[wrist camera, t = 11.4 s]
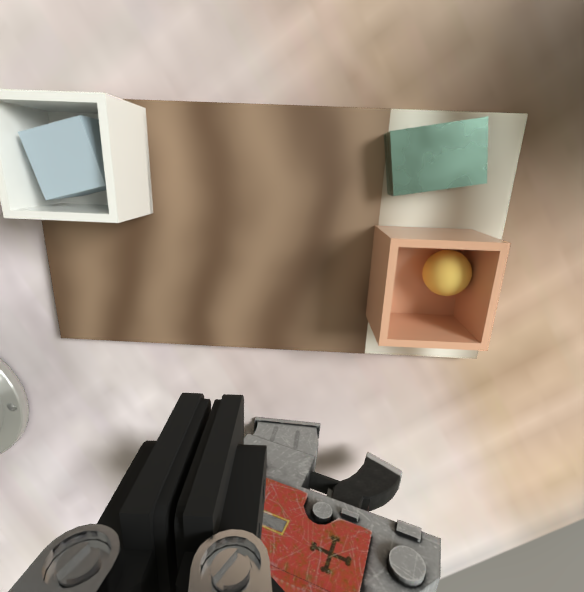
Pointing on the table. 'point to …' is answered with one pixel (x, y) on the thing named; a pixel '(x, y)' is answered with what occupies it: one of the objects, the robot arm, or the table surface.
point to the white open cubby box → (115, 147)
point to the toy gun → (336, 521)
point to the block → (66, 157)
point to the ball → (447, 272)
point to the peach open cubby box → (421, 300)
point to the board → (263, 228)
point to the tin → (436, 156)
